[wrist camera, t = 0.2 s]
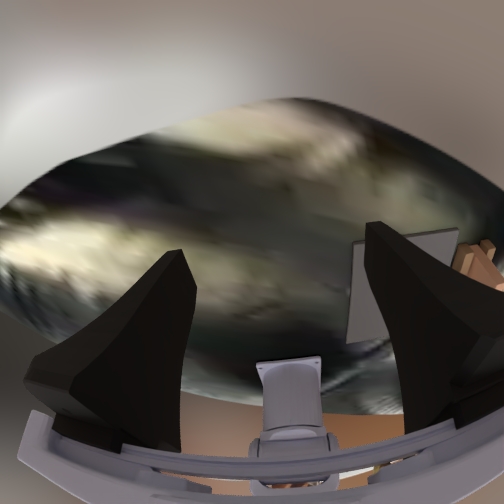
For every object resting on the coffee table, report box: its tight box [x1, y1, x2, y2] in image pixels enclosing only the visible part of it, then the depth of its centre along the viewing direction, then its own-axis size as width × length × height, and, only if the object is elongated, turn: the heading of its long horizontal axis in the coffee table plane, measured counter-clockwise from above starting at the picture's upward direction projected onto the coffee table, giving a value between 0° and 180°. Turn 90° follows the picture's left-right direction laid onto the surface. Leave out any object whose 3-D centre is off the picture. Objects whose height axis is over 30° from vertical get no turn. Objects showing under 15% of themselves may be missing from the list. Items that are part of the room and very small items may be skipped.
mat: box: [346, 228, 459, 344], centre depth 25 cm, size 14×11×1 cm
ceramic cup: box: [373, 462, 391, 474], centre depth 85 cm, size 13×10×10 cm
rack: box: [452, 239, 496, 276], centre depth 24 cm, size 10×5×2 cm, turn 11°
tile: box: [467, 245, 504, 291], centre depth 22 cm, size 9×2×6 cm, turn 11°
